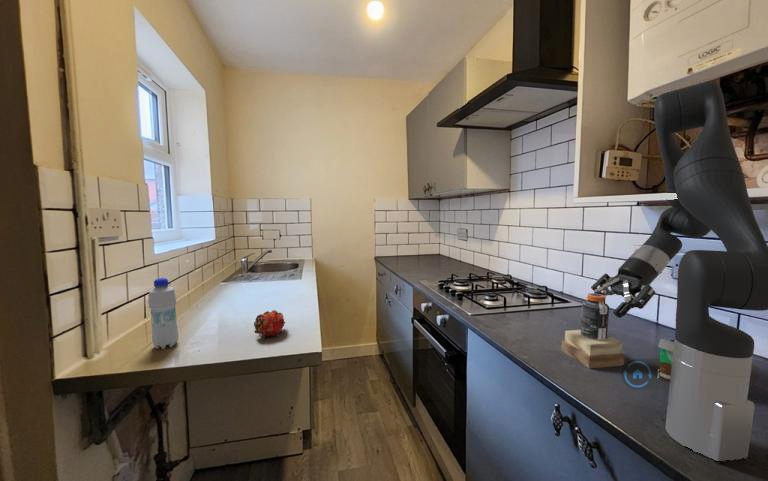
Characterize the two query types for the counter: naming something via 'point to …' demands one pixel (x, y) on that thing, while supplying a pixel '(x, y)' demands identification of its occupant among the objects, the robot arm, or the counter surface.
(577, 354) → the tower base
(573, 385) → the counter surface
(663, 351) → the food container
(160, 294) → the bottle
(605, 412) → the counter surface
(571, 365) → the counter surface
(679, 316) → the robot arm
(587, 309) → the pill bottle
